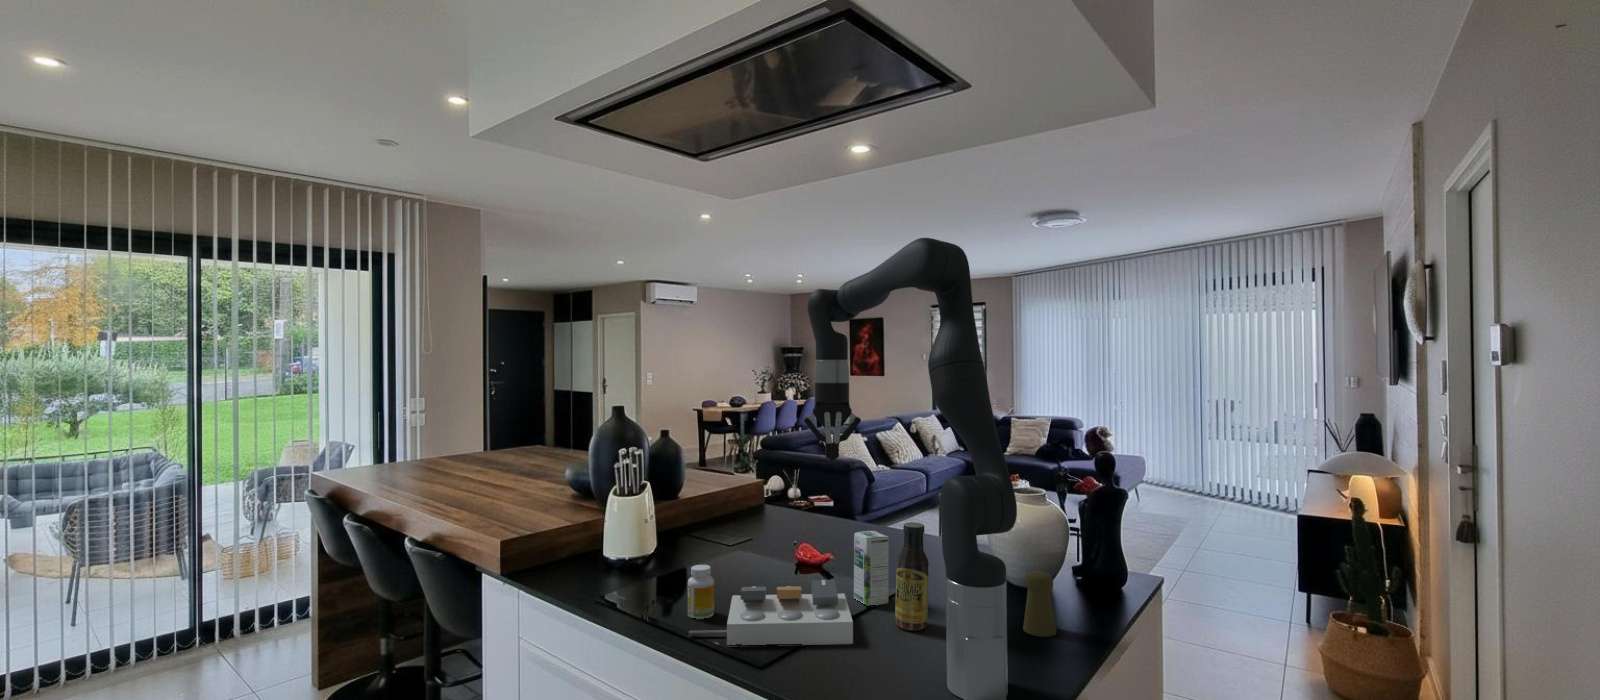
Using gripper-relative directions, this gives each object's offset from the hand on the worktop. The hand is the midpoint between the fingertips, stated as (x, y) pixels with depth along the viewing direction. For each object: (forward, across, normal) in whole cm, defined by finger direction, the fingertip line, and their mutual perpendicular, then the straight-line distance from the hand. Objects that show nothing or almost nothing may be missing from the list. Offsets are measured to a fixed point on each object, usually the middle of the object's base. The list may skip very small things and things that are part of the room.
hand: (832, 460), depth 141 cm
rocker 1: (+26, -17, -12) cm, 33 cm away
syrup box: (+31, +8, 0) cm, 32 cm away
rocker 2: (+26, -10, -12) cm, 30 cm away
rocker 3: (+26, -3, -12) cm, 29 cm away
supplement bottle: (+31, -28, -6) cm, 42 cm away
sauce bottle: (+31, +14, -15) cm, 37 cm away
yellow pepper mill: (+30, +38, -18) cm, 52 cm away
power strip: (+30, -14, -14) cm, 36 cm away
